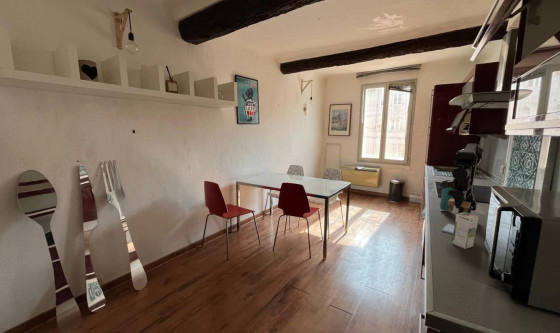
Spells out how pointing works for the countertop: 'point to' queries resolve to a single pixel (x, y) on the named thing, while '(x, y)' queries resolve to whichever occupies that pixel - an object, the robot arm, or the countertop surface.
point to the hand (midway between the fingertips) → (458, 207)
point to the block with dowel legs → (464, 205)
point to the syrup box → (465, 230)
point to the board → (448, 228)
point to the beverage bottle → (445, 198)
